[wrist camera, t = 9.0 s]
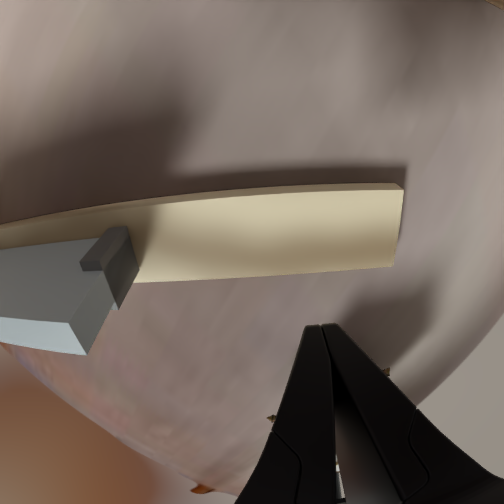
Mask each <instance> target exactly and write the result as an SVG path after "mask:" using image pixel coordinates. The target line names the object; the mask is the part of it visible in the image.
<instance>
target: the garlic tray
mask: <svg viewBox="0 0 504 504" xmlns="http://www.w3.org/2000/svg"><path fill="white" fill-rule="evenodd" d="M485 1H487V2H489V3H491V4H493V5H495V6H497V7H499V8H501V9H502V10H504V0H485Z"/></svg>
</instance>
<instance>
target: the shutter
mask: <svg viewBox="0 0 504 504" xmlns="http://www.w3.org/2000/svg"><path fill="white" fill-rule="evenodd" d="M139 271H140V269H139V266H138V263H137V260H136V256H135V253H134V250H133V246H132V243H131V239H130V236H129V232H128V228H127V226H121V227H112V228H108V229H107V230H106V231H105V232H104V234H103V235H102V236H101V237H100V238H92V239H83V240H74V241H65V242H56V243H48V244H40V245H32V246H24V247H16V248H9V249H1V250H0V342H5V343H9V344H15V345H20V346H25V347H31V348H37V349H43V350H49V351H56V352H63V353H71V354H79V355H87V354H88V352H89V350H90V348H91V346H92V344H93V342H94V340H95V338H96V336H97V334H98V332H99V330H100V329H101V327H102V325H103V323H104V321H105V319H106V317H107V315H108V313H109V311H110V310H119V308H120V306H121V304H122V302H123V300H124V298H125V296H126V294H127V293H128V291H129V289H130V287H131V285H132V283H133V281H134V280H135V278H136V276H137V274H138V272H139Z"/></svg>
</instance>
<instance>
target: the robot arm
mask: <svg viewBox="0 0 504 504" xmlns="http://www.w3.org/2000/svg"><path fill="white" fill-rule="evenodd" d="M271 431H272V432H270V434H269V437H268V440H267V442H266V445H265V447H264V450H263V452H262V454H261V457H260V459H259V461H258V464H257V466H256V467H255V469H254V471H253V473H252V475H251V477H250V478H249V480H248V482H247V484H246V485H245V487H244V489H243V490H242V492H241V493H240V495H239V497H238V498H237V500H236V501H235V503H234V504H504V479H503V478H500V477H498V476H495V475H493V474H492V473H490V472H489V471H487V470H486V469H484V468H483V467H482V466H481V465H480V464H478V463H477V462H476V461H475V460H473V459H472V458H471V457H470V456H468V455H467V454H466V453H465V452H464V451H462V450H461V449H460V448H459V447H458V446H456V445H455V444H454V443H453V442H452V441H451V440H449V439H448V438H447V437H446V436H445V435H444V434H443V433H441V432H440V431H439V430H438V429H437V428H436V427H435V426H434V425H433V424H432V423H431V422H430V421H429V420H428V419H427V418H426V417H425V416H424V414H422V412H421V411H420V410H419V409H416V406H415V405H414V404H413V403H412V402H411V401H410V400H409V399H408V398H407V396H406V395H405V394H404V393H403V392H402V391H401V390H400V389H399V388H398V387H397V386H396V385H395V384H394V383H393V382H392V381H391V380H390V379H389V377H388V376H387V375H386V374H385V373H384V372H383V371H382V370H381V369H380V368H379V367H378V366H377V365H376V364H375V363H374V362H373V361H372V360H371V359H370V358H369V356H368V355H367V354H366V353H365V352H364V351H363V350H362V349H361V348H360V347H359V346H358V345H357V344H356V343H355V342H354V341H353V340H352V339H351V338H350V337H349V336H348V335H347V334H346V333H345V331H344V330H343V329H342V328H341V327H340V326H339V325H338V324H336V323H329V324H322V325H321V326H320V325H307V326H305V328H304V331H303V334H302V338H301V341H300V344H299V348H298V351H297V354H296V358H295V361H294V364H293V367H292V370H291V373H290V377H289V380H288V383H287V386H286V389H285V392H284V395H283V398H282V401H281V404H280V407H279V409H278V412H277V415H276V418H275V421H274V424H273V426H272V429H271ZM336 456H337V461H338V465H339V470H340V475H341V479H342V484H343V489H344V494H345V498H342V496H341V489H340V481H339V473H338V472H336Z"/></svg>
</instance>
